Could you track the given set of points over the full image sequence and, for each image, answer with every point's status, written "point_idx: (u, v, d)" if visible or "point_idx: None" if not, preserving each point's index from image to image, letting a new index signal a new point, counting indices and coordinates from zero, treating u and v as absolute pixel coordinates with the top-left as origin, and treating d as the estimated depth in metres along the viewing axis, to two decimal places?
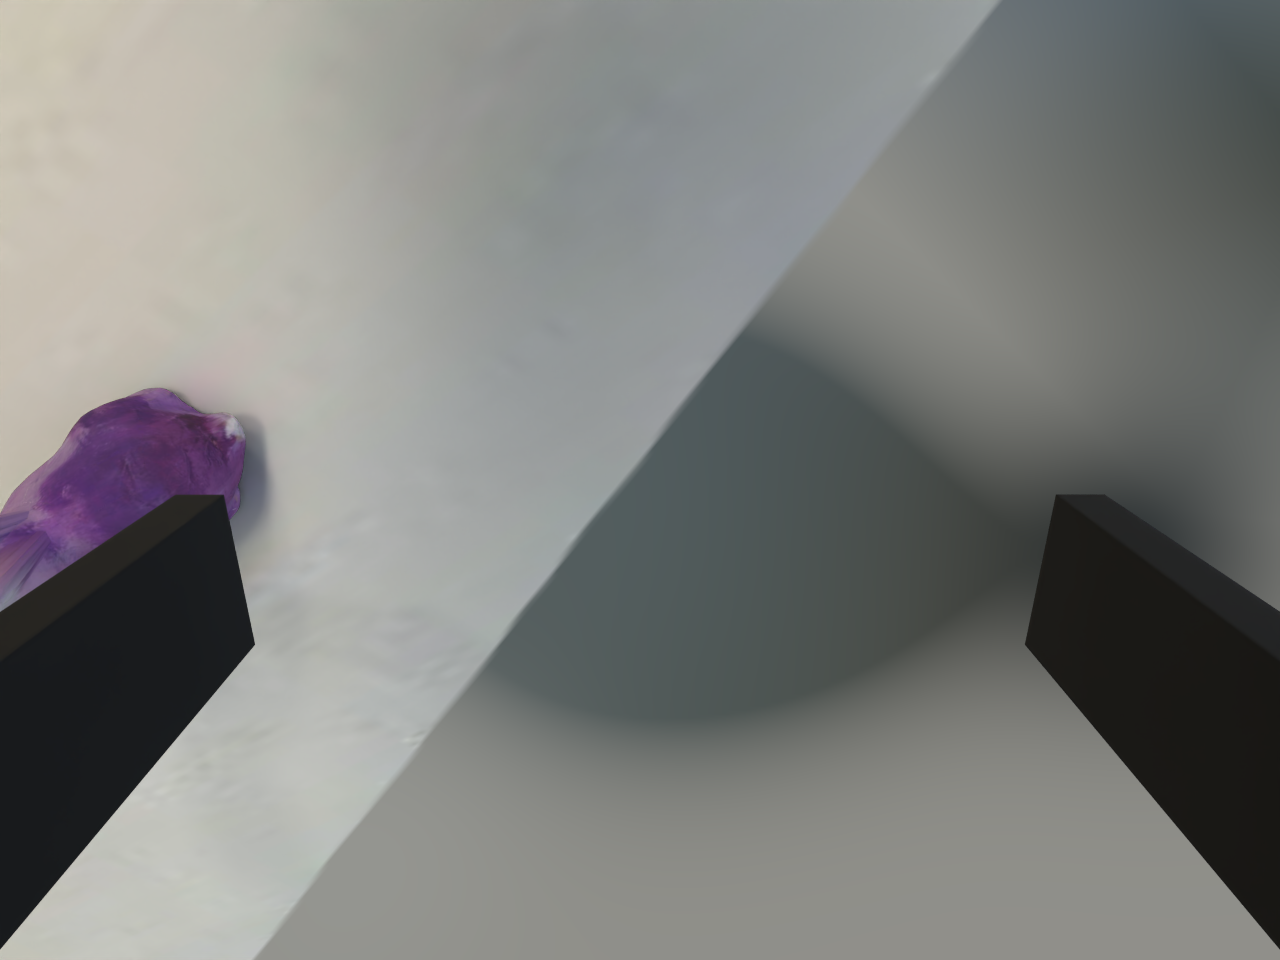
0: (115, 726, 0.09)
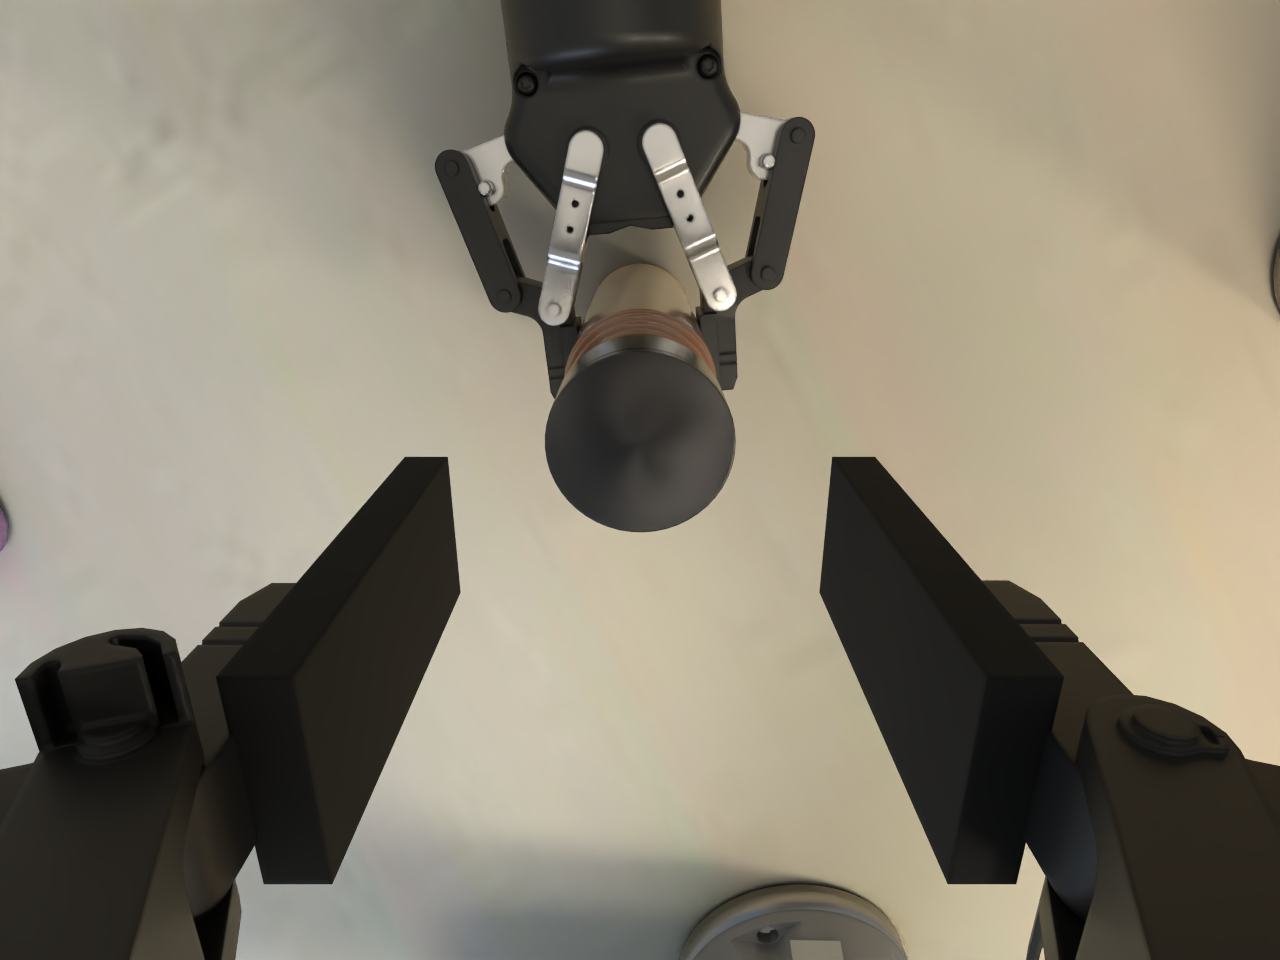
0: (405, 646, 0.11)
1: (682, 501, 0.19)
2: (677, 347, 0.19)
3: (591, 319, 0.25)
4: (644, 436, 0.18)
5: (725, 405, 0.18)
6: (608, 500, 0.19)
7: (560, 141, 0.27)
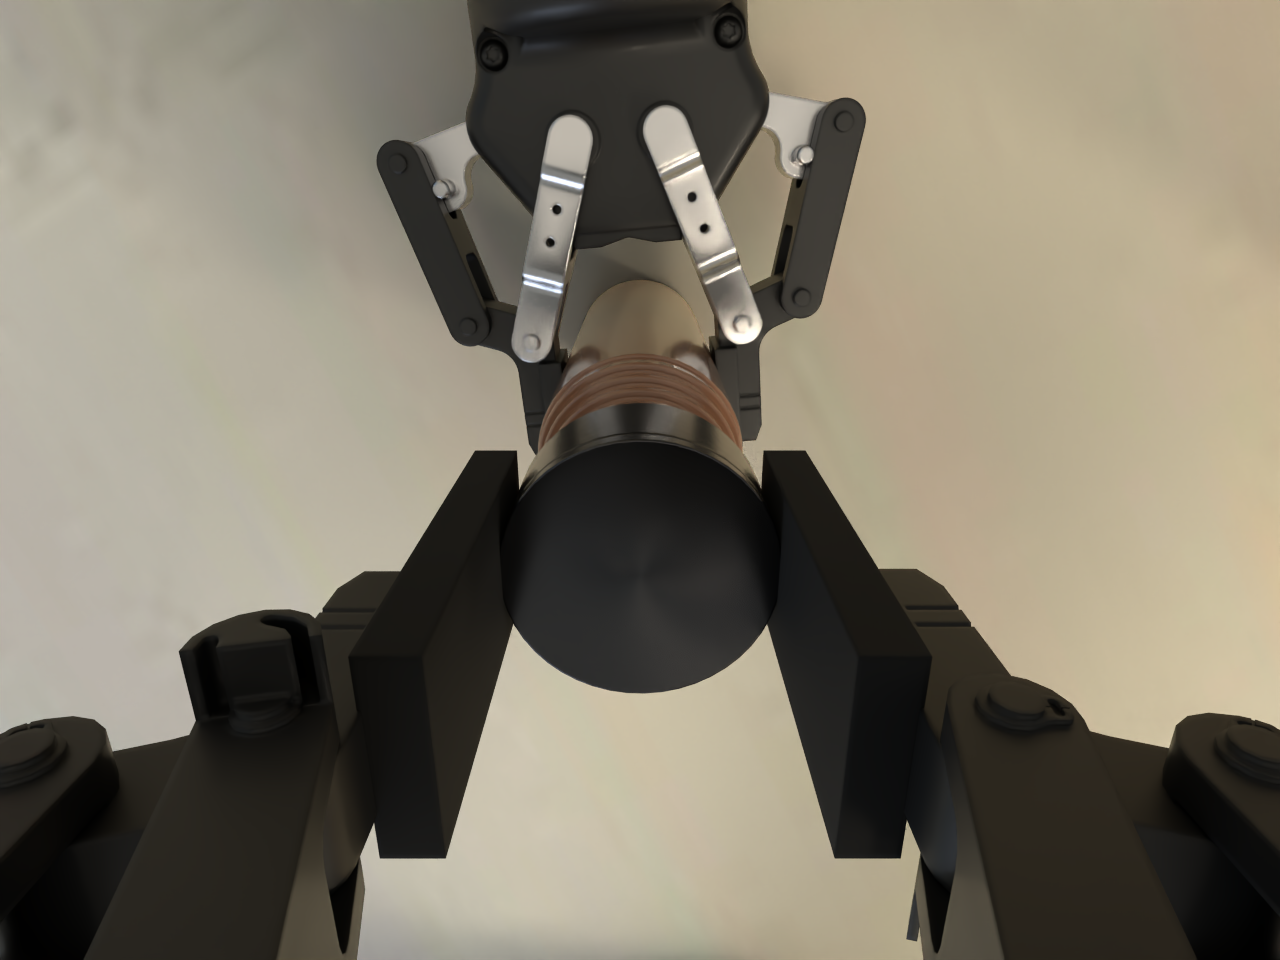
0: (490, 633, 0.11)
1: (702, 651, 0.13)
2: (694, 424, 0.13)
3: (575, 363, 0.19)
4: (646, 562, 0.12)
5: (768, 517, 0.12)
6: (593, 650, 0.13)
7: (537, 129, 0.21)
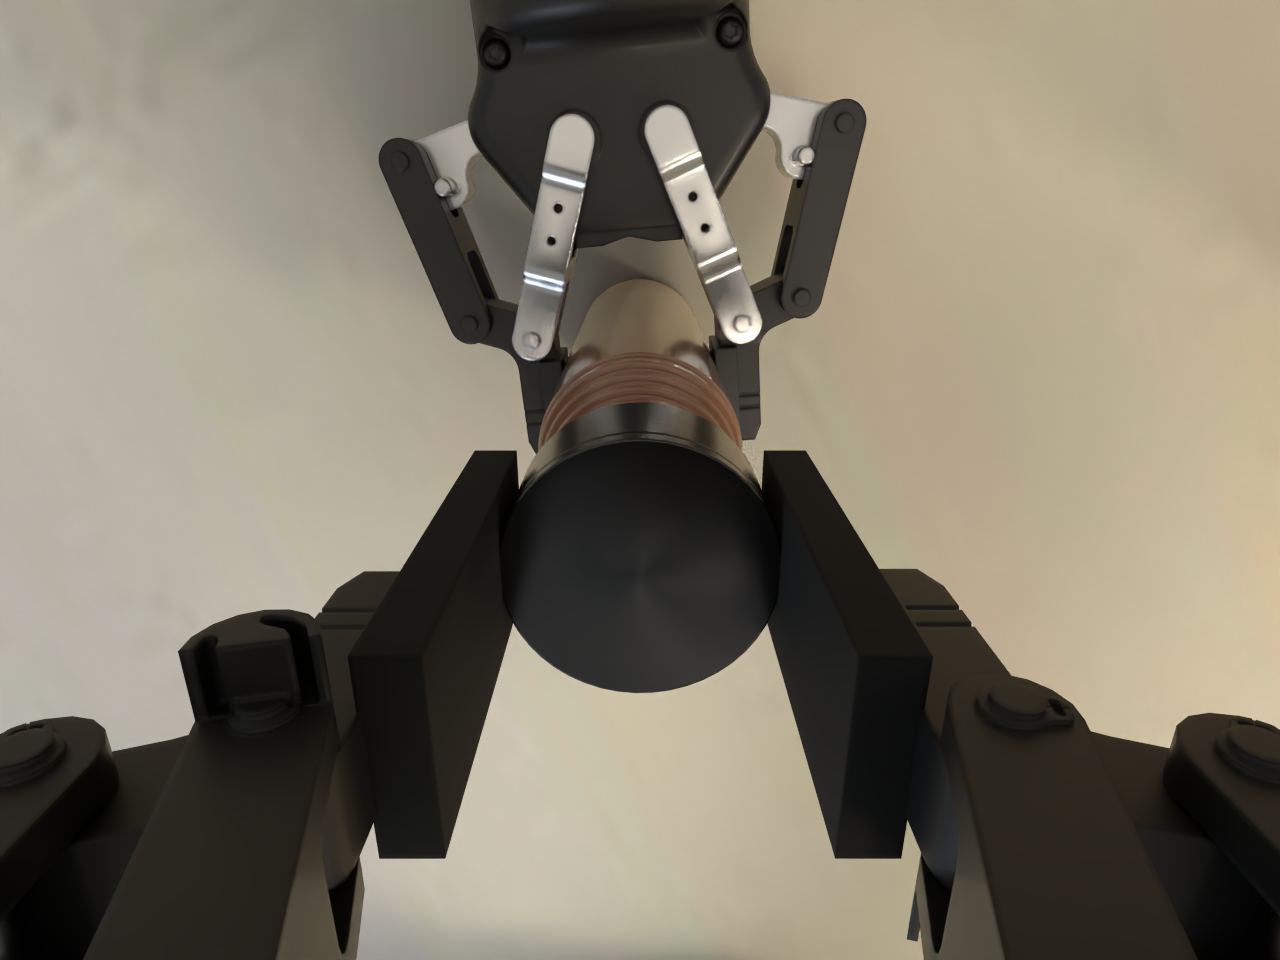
0: (490, 633, 0.11)
1: (707, 491, 0.12)
2: None
3: (576, 361, 0.19)
4: (624, 574, 0.12)
5: (536, 483, 0.12)
6: (738, 590, 0.12)
7: (539, 128, 0.21)
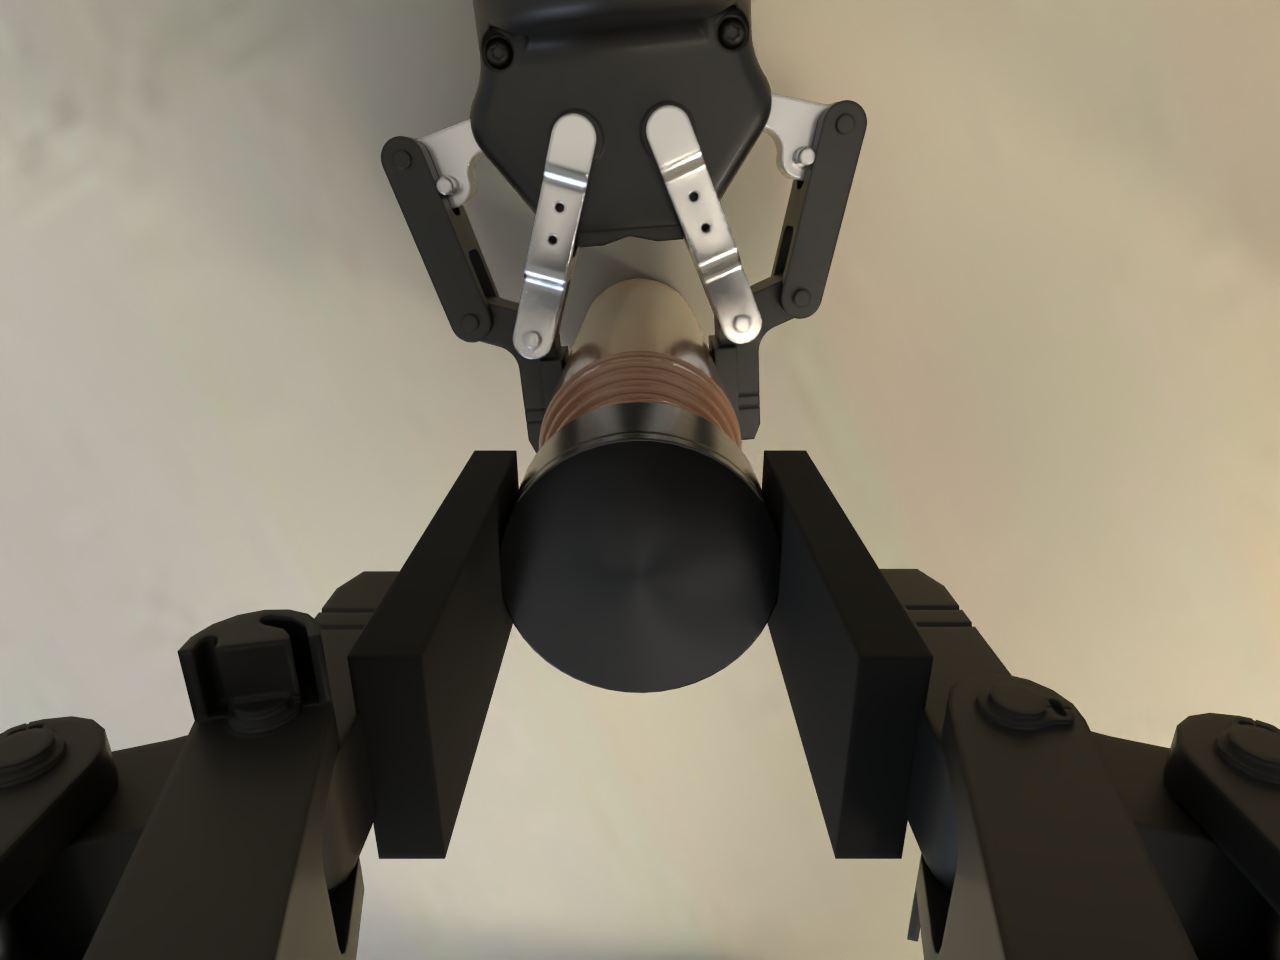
0: (490, 633, 0.11)
1: (532, 545, 0.12)
2: None
3: (577, 360, 0.19)
4: (644, 588, 0.12)
5: (581, 679, 0.13)
6: (624, 481, 0.12)
7: (541, 127, 0.21)
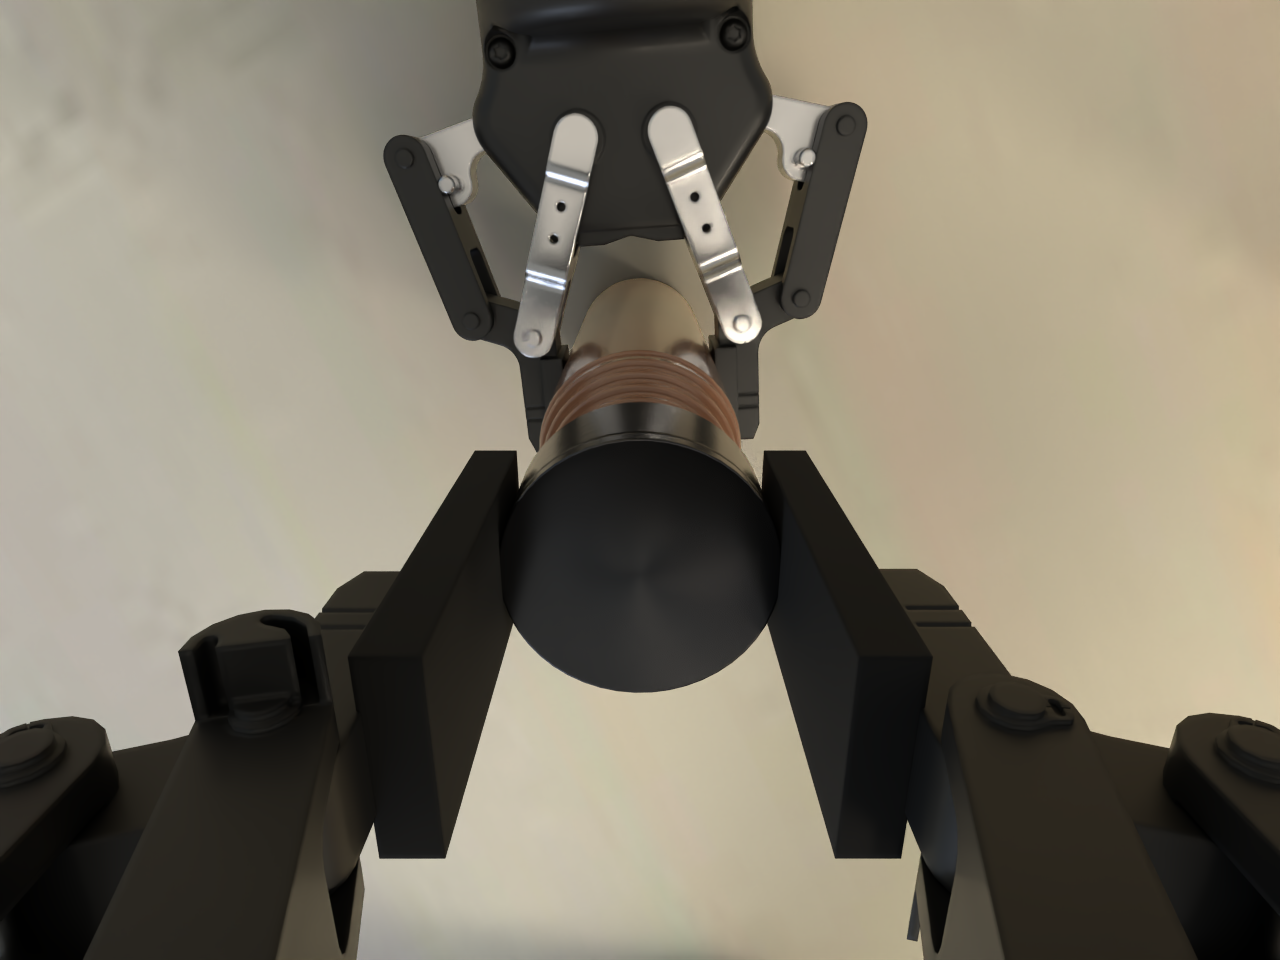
0: (490, 632, 0.11)
1: (643, 668, 0.13)
2: (753, 473, 0.13)
3: (577, 359, 0.19)
4: (653, 566, 0.12)
5: (777, 590, 0.12)
6: (552, 614, 0.13)
7: (543, 127, 0.21)
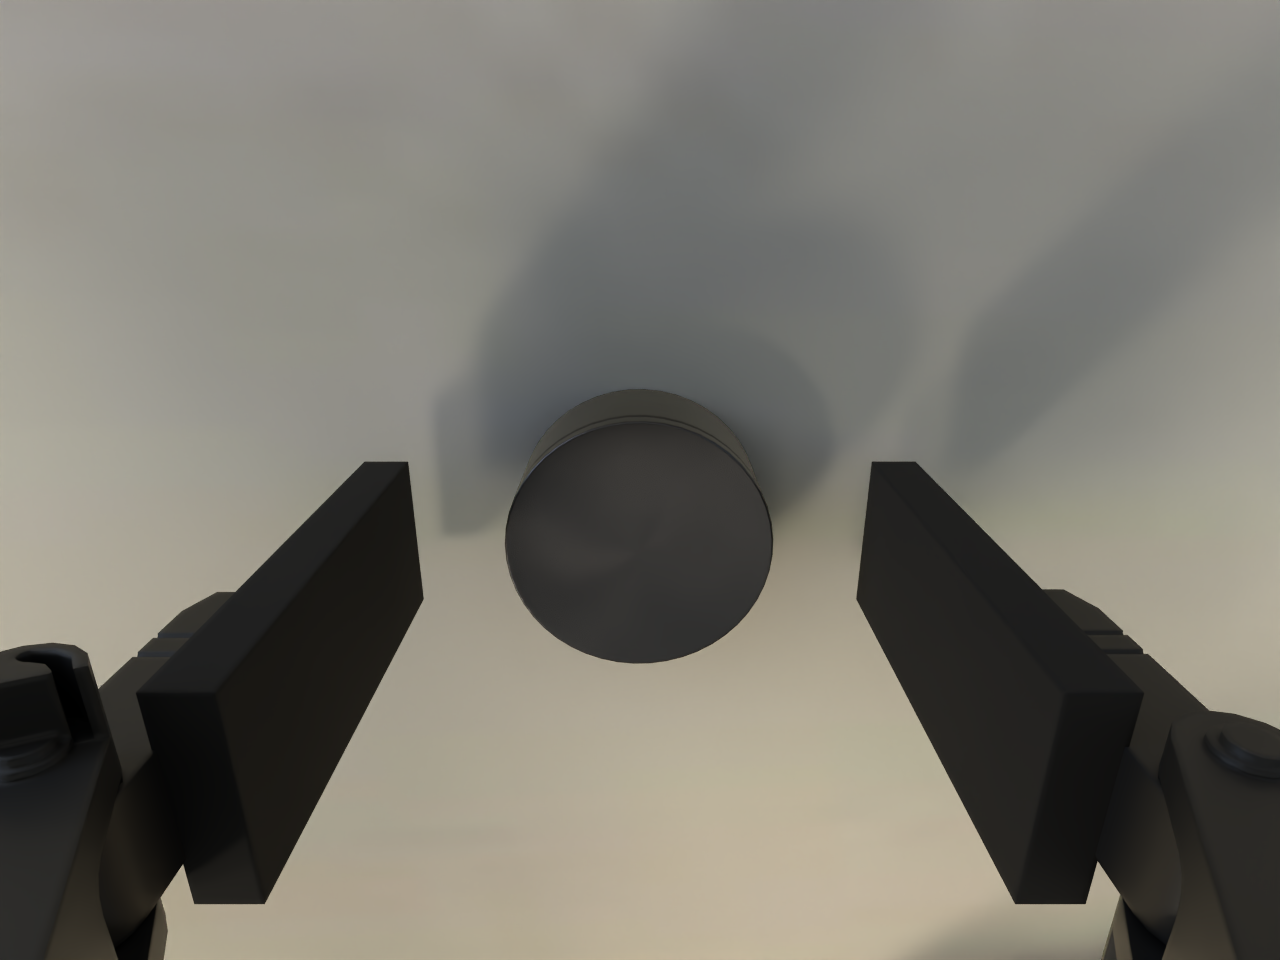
0: (355, 656, 0.11)
1: (642, 640, 0.14)
2: (745, 456, 0.14)
3: None
4: (651, 543, 0.13)
5: (768, 565, 0.13)
6: (556, 588, 0.13)
7: None
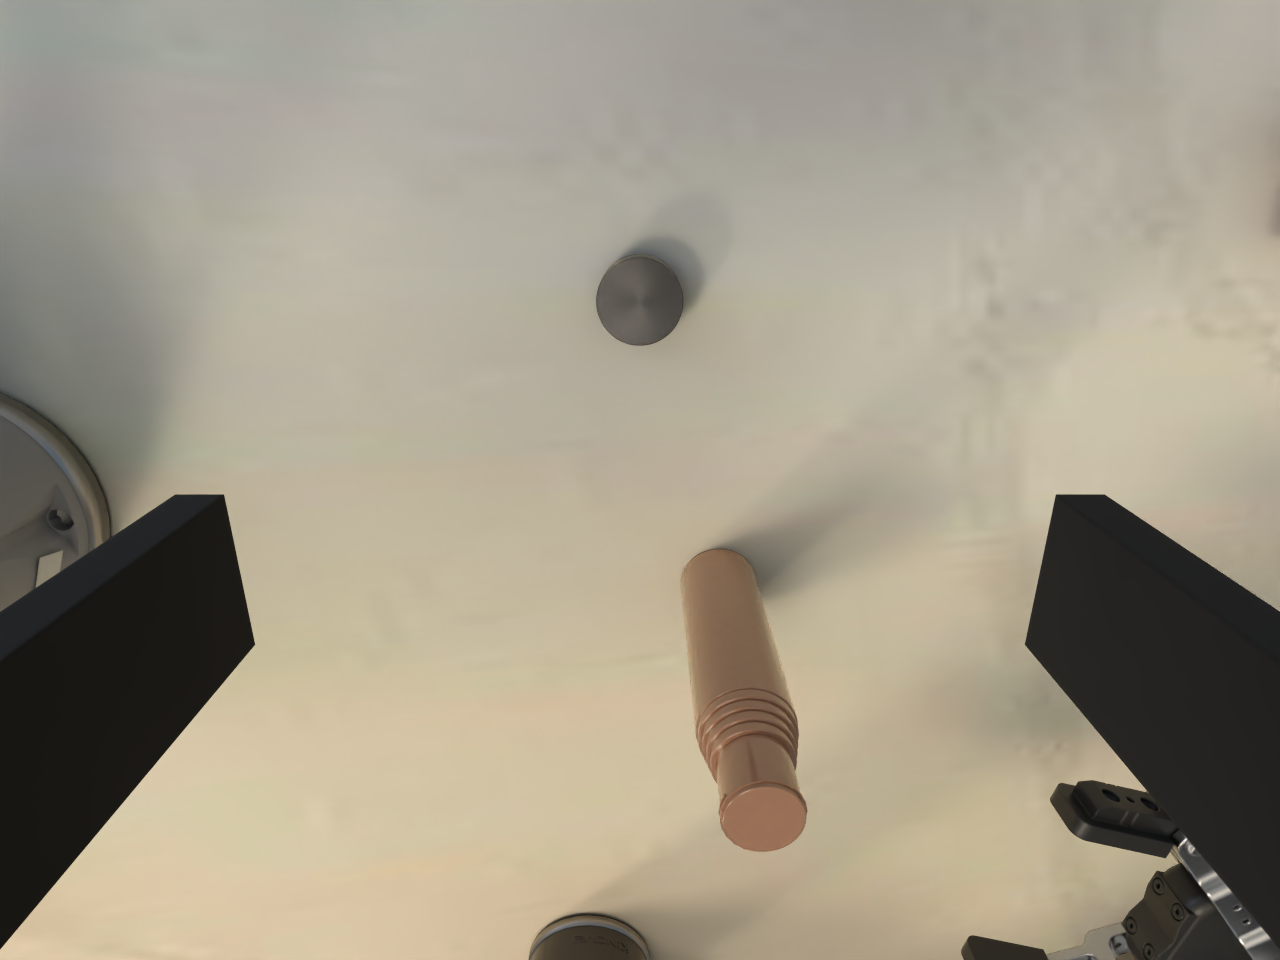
0: (115, 726, 0.09)
1: (640, 336, 0.41)
2: (675, 275, 0.41)
3: (788, 691, 0.37)
4: (643, 299, 0.41)
5: (681, 308, 0.41)
6: (612, 316, 0.41)
7: None
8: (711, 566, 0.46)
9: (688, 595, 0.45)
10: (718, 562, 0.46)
